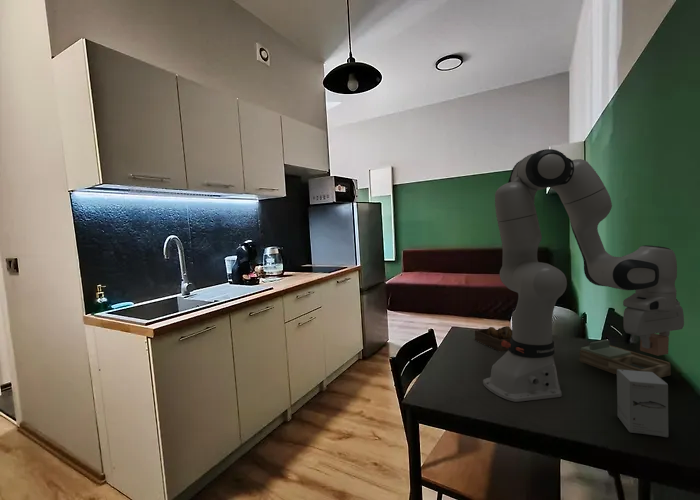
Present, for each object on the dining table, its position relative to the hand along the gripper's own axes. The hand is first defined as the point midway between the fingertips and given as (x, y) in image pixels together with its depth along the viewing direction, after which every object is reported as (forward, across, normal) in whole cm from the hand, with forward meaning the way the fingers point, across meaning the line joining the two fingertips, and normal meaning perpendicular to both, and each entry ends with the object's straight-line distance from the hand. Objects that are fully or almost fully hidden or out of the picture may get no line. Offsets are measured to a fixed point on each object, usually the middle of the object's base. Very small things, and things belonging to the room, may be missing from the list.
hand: (654, 346), depth 97 cm
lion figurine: (+13, +14, -48) cm, 51 cm away
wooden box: (+12, -5, -12) cm, 18 cm away
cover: (+8, -5, -18) cm, 20 cm away
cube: (+2, 0, 0) cm, 2 cm away
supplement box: (+13, +25, +12) cm, 31 cm away
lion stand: (+13, +16, -48) cm, 53 cm away
